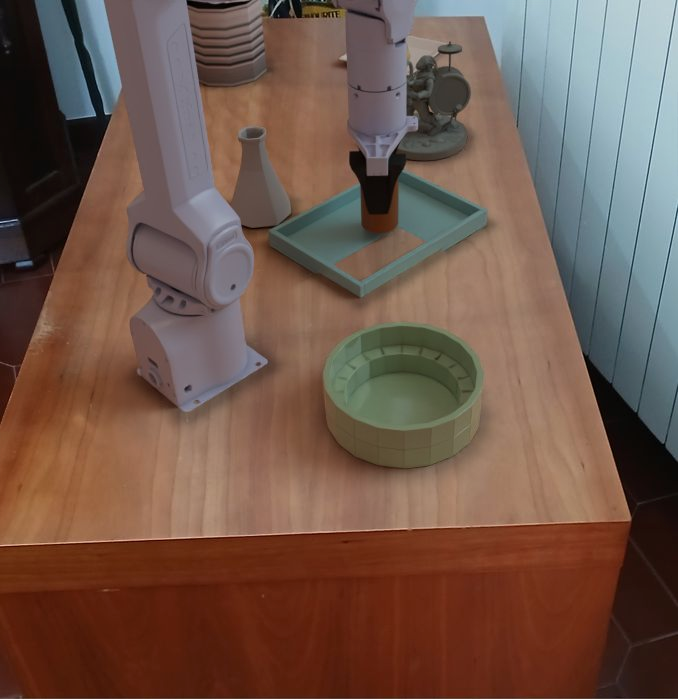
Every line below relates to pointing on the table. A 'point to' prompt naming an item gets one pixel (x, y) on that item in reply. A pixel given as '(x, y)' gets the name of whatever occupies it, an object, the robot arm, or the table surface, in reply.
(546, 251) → the table surface
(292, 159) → the table surface
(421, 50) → the dessert
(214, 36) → the can
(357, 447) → the bowl
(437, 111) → the figurine
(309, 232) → the tray
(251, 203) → the flask
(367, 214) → the brown cylinder
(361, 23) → the robot arm
